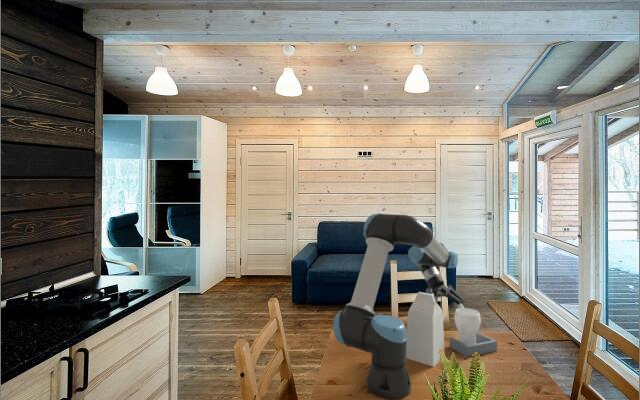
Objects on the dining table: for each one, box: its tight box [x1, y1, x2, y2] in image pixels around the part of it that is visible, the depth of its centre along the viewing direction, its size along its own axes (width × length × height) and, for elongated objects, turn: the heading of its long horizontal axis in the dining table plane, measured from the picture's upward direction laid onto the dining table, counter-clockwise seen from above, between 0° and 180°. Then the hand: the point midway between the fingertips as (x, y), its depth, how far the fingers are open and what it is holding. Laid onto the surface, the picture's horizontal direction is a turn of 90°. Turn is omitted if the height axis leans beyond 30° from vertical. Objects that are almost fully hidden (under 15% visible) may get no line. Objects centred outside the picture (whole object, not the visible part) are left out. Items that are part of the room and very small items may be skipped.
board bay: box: [448, 331, 498, 358], centre depth 155 cm, size 16×10×4 cm, turn 111°
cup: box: [454, 307, 482, 345], centre depth 158 cm, size 11×11×15 cm
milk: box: [406, 291, 445, 367], centre depth 147 cm, size 12×12×26 cm
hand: (454, 319), depth 166 cm, fingers open, 13 cm apart
